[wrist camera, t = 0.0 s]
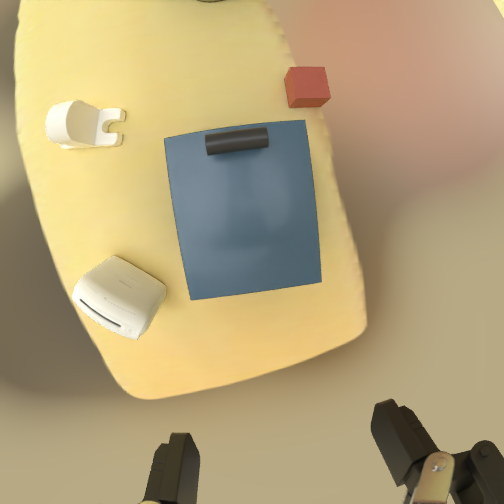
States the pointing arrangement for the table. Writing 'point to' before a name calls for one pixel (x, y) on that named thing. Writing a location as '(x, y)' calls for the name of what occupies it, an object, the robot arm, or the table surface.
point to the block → (306, 87)
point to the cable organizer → (82, 125)
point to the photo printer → (120, 297)
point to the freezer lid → (245, 208)
